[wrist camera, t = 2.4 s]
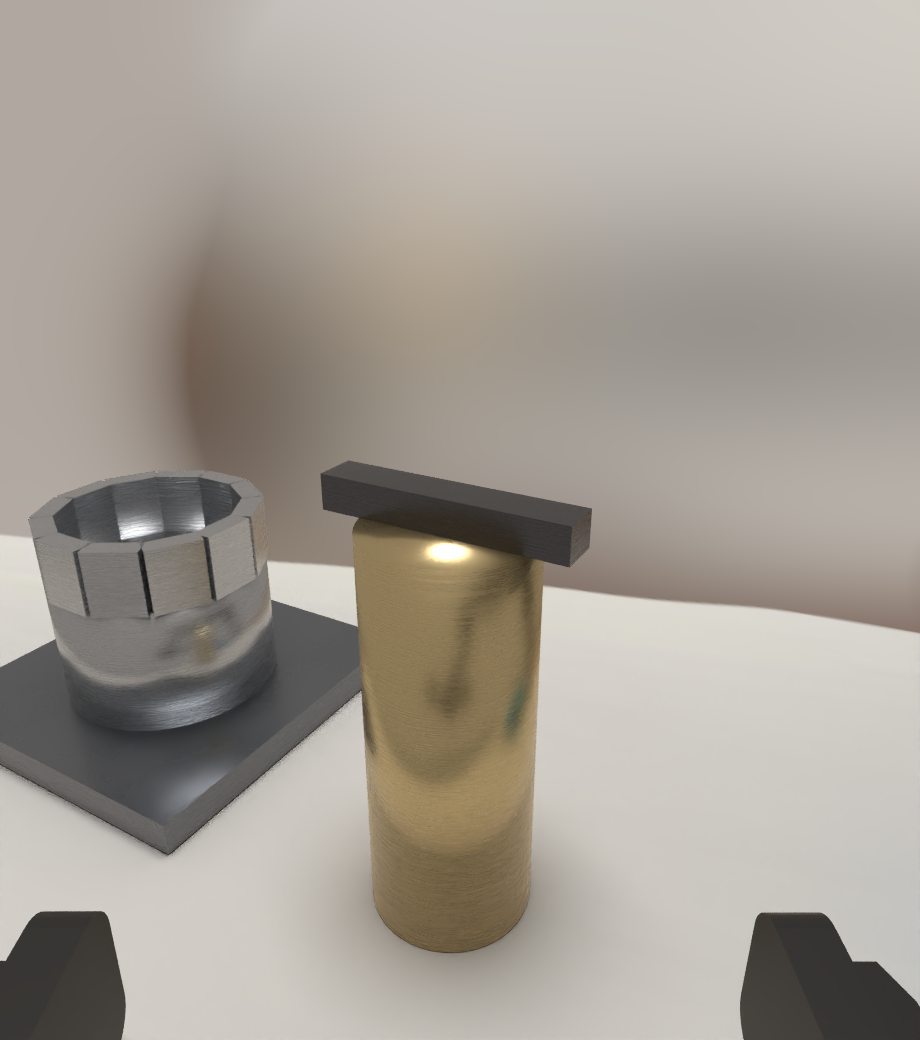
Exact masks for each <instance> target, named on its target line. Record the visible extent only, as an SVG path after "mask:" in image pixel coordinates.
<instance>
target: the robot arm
mask: <svg viewBox="0 0 920 1040" xmlns="http://www.w3.org/2000/svg"><path fill="white" fill-rule="evenodd" d="M125 1008H126V1003H125V993H124V989H123V984H122V979H121V974H120V970H119V965H118V960H117V956H116V951H115V946H114V941H113V937H112V932H111V927H110V923H109V919H108V917H107V915H106V914H105V913H104V912H102V911H55V912H39V913H37V914H36V915H35V916H34V917H33V918H32V919H31V920H30V921H29V922H28V924H27V925H26V927H25V929H24V930H23V932H22V934H21V936H20V937H19V939H18V941H17V942H16V944H15V946H14V948H13V949H12V951H11V953H10V954H9V956H8V958H7V960H6V961H0V1040H121V1038H122V1033H123V1028H124V1021H125ZM740 1016H741V1026H742V1033H743V1038H744V1040H920V1007H919V1005H918V1003H917V1002H916V1001H915V1000H914V999H913V998H912V997H911V996H910V995H909V994H908V993H907V992H906V991H905V990H904V989H903V988H902V987H901V986H900V985H899V984H898V983H897V982H896V981H895V980H894V979H893V978H892V977H891V976H890V975H889V974H888V973H887V972H886V971H885V970H884V969H883V968H882V967H881V966H880V965H879V964H878V963H877V962H853V961H852V960H851V958H850V956H849V954H848V952H847V950H846V948H845V946H844V944H843V942H842V940H841V938H840V936H839V934H838V933H837V931H836V929H835V927H834V925H833V923H832V922H831V921H830V919H829V918H828V917H827V916H826V915H824V914H823V913H760V914H759V915H758V916H757V918H756V921H755V925H754V930H753V935H752V941H751V946H750V951H749V956H748V961H747V966H746V972H745V977H744V982H743V987H742V992H741V999H740Z"/></svg>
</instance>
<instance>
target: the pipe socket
mask: <svg viewBox="0 0 920 1040" xmlns="http://www.w3.org/2000/svg"><path fill="white" fill-rule="evenodd" d="M29 518H30V519H28V520H29V524H30V529H31V533H32V538H33V542H34V546H35V551H36V555H37V559H38V564H39V568H40V573H41V577H42V581H43V585H44V590H45V594H46V598H47V603H48V607H49V611H50V616H51V620H52V625H53V629H54V633H55V638H56V639H55V640H53V641H51V642H49V643H47V644H45V645H43V646H41V647H39V648H37V649H35V650H33V651H32V652H30V653H28V654H26V655H24V656H22V657H20V658H18V659H16V660H14V661H12V662H10V663H8V664H6V665H4V666H2V667H0V764H1V765H3V766H5V767H7V768H8V769H10V770H12V771H14V772H16V773H18V774H19V775H21V776H23V777H25V778H27V779H29V780H31V781H32V782H34V783H36V784H38V785H40V786H42V787H44V788H45V789H47V790H49V791H51V792H53V793H55V794H57V795H58V796H60V797H62V798H64V799H66V800H68V801H70V802H71V803H73V804H75V805H77V806H79V807H81V808H83V809H84V810H86V811H88V812H90V813H92V814H94V815H95V816H97V817H99V818H101V819H103V820H105V821H107V822H108V823H110V824H112V825H114V826H116V827H118V828H120V829H121V830H123V831H125V832H127V833H129V834H131V835H133V836H134V837H136V838H138V839H140V840H142V841H144V842H146V843H147V844H149V845H151V846H153V847H155V848H157V849H159V850H160V851H162V852H164V853H166V854H168V855H169V854H170V853H171V852H172V851H173V850H175V849H176V848H177V847H178V846H179V845H180V844H182V843H183V842H184V841H185V840H186V839H187V838H189V837H190V836H191V835H192V834H193V833H194V832H196V831H197V830H198V829H199V828H200V827H201V826H203V825H204V824H205V823H206V822H207V821H208V820H210V819H211V818H212V817H213V816H214V815H215V814H217V813H218V812H219V811H220V810H221V809H222V808H224V807H225V806H226V805H227V804H228V803H229V802H231V801H232V800H233V799H234V798H235V797H236V796H238V795H239V794H240V793H241V792H242V791H243V790H245V789H246V788H247V787H248V786H249V785H250V784H251V783H253V782H254V781H255V780H256V779H257V778H258V777H260V776H261V775H262V774H263V773H264V772H265V771H267V770H268V769H269V768H270V767H271V766H272V765H274V764H275V763H276V762H277V761H278V760H279V759H281V758H282V757H283V756H284V755H285V754H286V753H288V752H289V751H290V750H291V749H292V748H293V747H295V746H296V745H297V744H298V743H299V742H300V741H302V740H303V739H304V738H305V737H306V736H307V735H309V734H310V733H311V732H312V731H313V730H314V729H316V728H317V727H318V726H319V725H320V724H321V723H323V722H324V721H325V720H326V719H327V718H328V717H330V716H331V715H332V714H333V713H334V712H335V711H337V710H338V709H339V708H340V707H341V706H342V705H344V704H345V703H346V702H347V701H348V700H349V699H351V698H352V697H353V696H354V695H355V694H356V693H358V692H359V691H360V690H361V672H360V654H359V637H358V627H357V626H354V625H350V624H347V623H344V622H341V621H337V620H334V619H331V618H328V617H325V616H321V615H318V614H315V613H312V612H308V611H305V610H302V609H299V608H296V607H292V606H289V605H286V604H283V603H279V602H276V601H273V600H271V597H270V587H269V578H268V568H267V557H268V555H269V549H268V539H267V530H266V521H265V510H264V501H263V495H262V494H261V493H260V492H259V491H258V490H257V489H256V488H255V487H254V486H253V485H252V484H251V483H250V482H249V481H248V480H245V479H244V478H239V477H235V476H231V475H226V474H222V473H217V472H213V471H209V472H206V471H159V472H158V473H156V472H155V471H153V472H146V473H140V474H134V475H128V476H122V477H116V478H110V479H105V482H104V481H97V482H95V483H92V484H89V485H86V486H83V487H81V488H78V489H75V490H72V491H69V492H66V493H64V494H61V495H58V497H56V498H55V497H54V498H53V499H51V500H50V501H49V502H48V503H46V504H45V505H44V506H43V507H41V508H40V509H39V510H38V511H37V512H35V513H34V514H33V515H31V517H29Z"/></svg>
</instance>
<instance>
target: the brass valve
mask: <svg viewBox="0 0 920 1040" xmlns="http://www.w3.org/2000/svg"><path fill="white" fill-rule="evenodd" d="M321 486H322V500H323V509H324V510H328V511H332V512H337V513H341V514H345V515H350V516H354V517H358V518H359V519H358V520H357V521H356V523H355V525H354V527H353V533H352V534H353V549H354V568H355V586H356V603H357V620H358V637H359V654H360V672H361V689H362V706H363V723H364V740H365V758H366V775H367V792H368V809H369V826H370V844H371V861H372V878H373V894H374V901H375V904H376V908H377V910H378V912H379V914H380V917H381V918H382V920H383V921H384V922H385V924H386V925H387V926H388V927H389V928H390V929H391V930H392V931H393V932H394V933H395V934H396V935H398V936H399V937H400V938H402V939H403V940H405V941H407V942H408V943H410V944H413V945H415V946H417V947H420V948H423V949H427V950H431V951H437V952H449V953H453V952H464V951H470V950H474V949H478V948H481V947H484V946H486V945H489V944H491V943H493V942H495V941H496V940H498V939H500V938H501V937H503V936H504V935H505V934H506V933H508V932H509V931H510V930H511V929H512V928H513V927H514V926H515V925H516V924H517V922H518V921H519V919H520V918H521V917H522V915H523V913H524V911H525V909H526V906H527V902H528V898H529V889H530V866H531V843H532V820H533V797H534V774H535V751H536V729H537V706H538V683H539V660H540V637H541V614H542V592H543V569H544V568H543V567H544V561H545V562H549V563H553V564H557V565H562V566H566V567H570V566H572V565H573V564H574V563H575V561H577V560H578V559H579V558H580V556H582V555H583V554H584V553H585V552H586V551H587V550H588V548H589V543H590V528H591V515H592V509H591V508H586V507H581V506H576V505H571V504H565V503H560V502H555V501H550V500H545V499H540V498H535V497H530V496H525V495H520V494H515V493H510V492H505V491H499V490H495V489H490V488H484V487H479V486H474V485H469V484H464V483H459V482H454V481H448V480H444V479H439V478H434V477H429V476H424V475H419V474H413V473H409V472H404V471H398V470H393V469H388V468H383V467H378V466H373V465H368V464H362V463H358V462H353V461H347V462H345V463H342V464H340V465H338V466H336V467H334V468H332V469H330V470H328V471H325V472H323V473H321Z"/></svg>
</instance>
